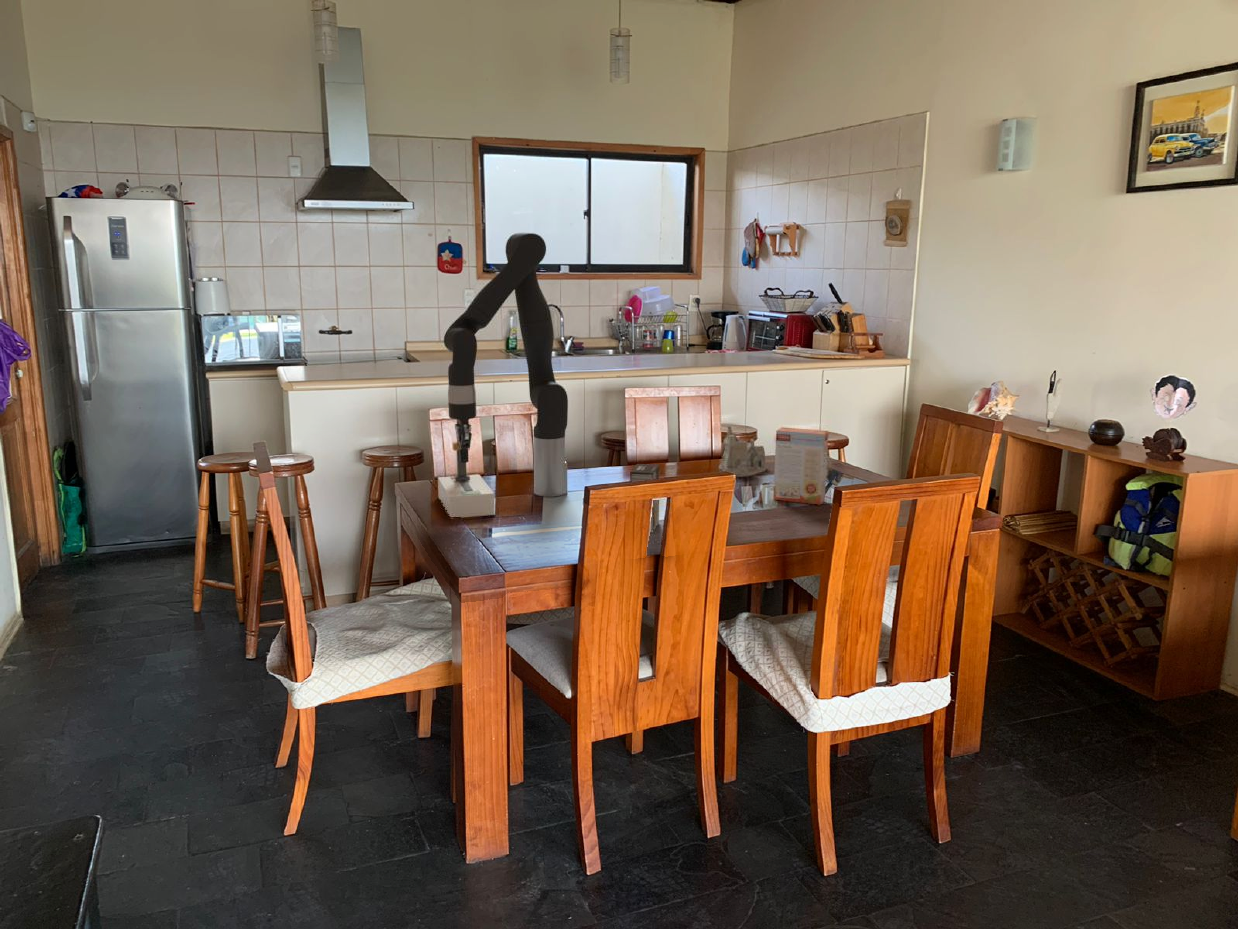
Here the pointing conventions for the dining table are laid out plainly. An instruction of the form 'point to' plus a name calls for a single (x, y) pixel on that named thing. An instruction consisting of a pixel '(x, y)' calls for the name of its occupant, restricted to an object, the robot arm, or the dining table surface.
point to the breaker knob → (460, 465)
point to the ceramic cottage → (742, 456)
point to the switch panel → (466, 496)
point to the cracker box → (800, 465)
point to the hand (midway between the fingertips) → (464, 461)
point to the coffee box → (647, 473)
